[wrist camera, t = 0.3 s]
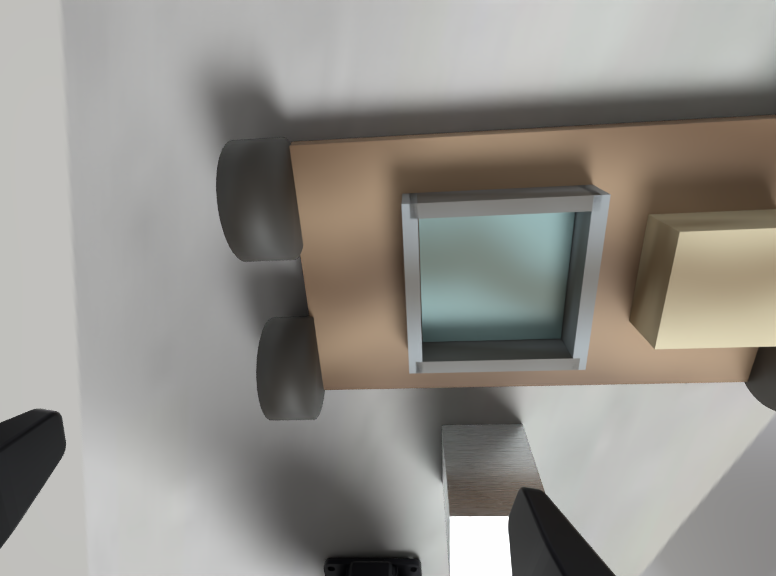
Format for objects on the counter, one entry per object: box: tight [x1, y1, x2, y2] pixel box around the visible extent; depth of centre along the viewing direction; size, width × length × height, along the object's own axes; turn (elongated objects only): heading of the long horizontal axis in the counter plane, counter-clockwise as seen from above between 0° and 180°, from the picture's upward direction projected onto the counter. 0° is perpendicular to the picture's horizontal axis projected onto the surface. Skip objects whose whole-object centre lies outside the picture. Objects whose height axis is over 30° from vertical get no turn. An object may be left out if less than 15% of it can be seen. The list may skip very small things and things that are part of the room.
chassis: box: [216, 114, 776, 420], centre depth 19 cm, size 13×25×5 cm, turn 93°
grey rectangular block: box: [442, 424, 545, 576], centre depth 24 cm, size 4×4×6 cm
